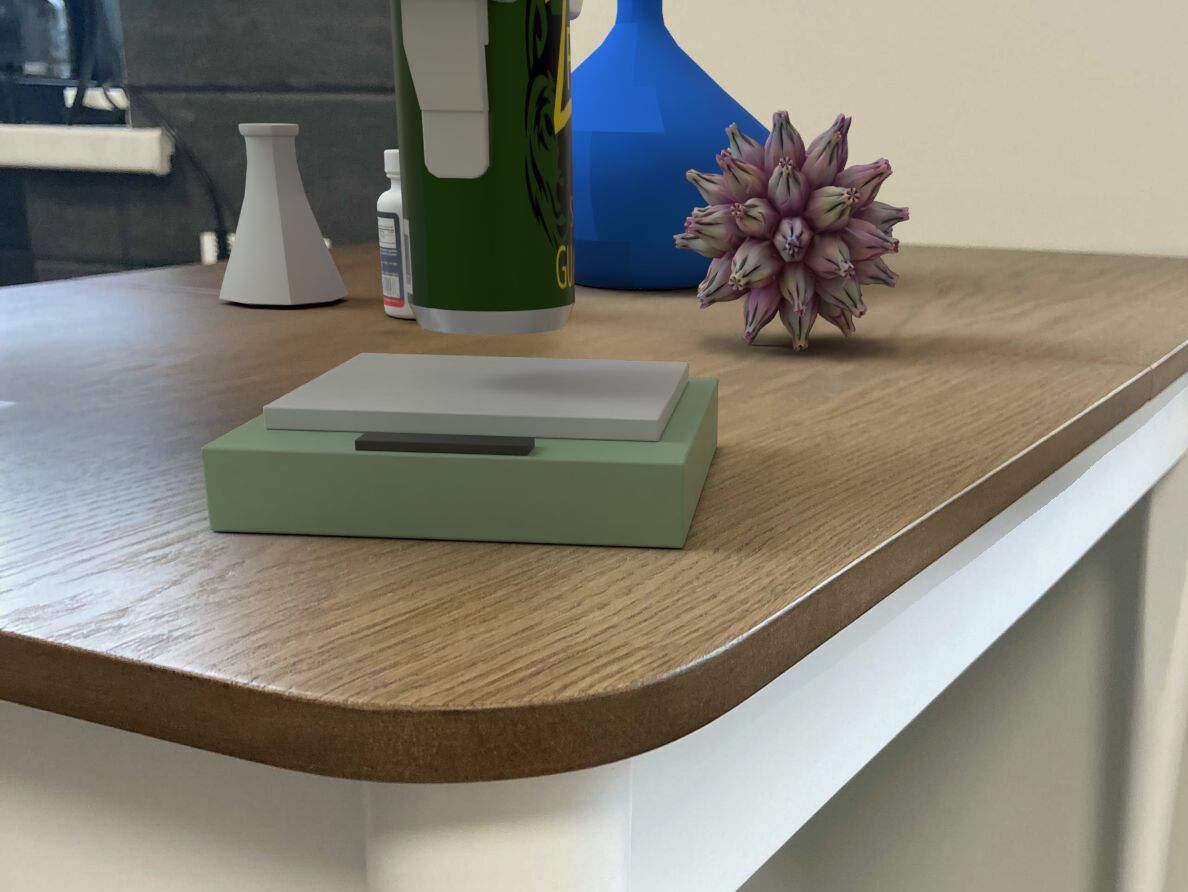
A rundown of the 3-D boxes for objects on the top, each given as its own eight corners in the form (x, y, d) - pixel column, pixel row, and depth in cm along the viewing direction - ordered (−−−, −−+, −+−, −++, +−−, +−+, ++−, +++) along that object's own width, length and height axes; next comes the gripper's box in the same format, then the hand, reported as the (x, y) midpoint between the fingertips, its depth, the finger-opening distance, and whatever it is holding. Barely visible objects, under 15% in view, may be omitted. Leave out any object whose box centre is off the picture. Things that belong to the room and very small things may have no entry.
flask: (197, 303, 90) (176, 123, 86) (277, 291, 96) (261, 122, 92) (293, 312, 88) (276, 126, 84) (370, 299, 94) (357, 124, 90)
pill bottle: (488, 310, 90) (481, 149, 86) (460, 322, 85) (451, 152, 81) (403, 307, 90) (393, 147, 87) (370, 318, 86) (358, 150, 82)
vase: (453, 277, 105) (439, -32, 97) (654, 262, 116) (655, -16, 109) (622, 305, 93) (620, -47, 85) (827, 285, 104) (842, -27, 96)
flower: (923, 374, 80) (822, 354, 70) (732, 343, 86) (613, 320, 76) (968, 145, 78) (869, 91, 67) (767, 128, 83) (649, 75, 73)
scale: (209, 531, 44) (196, 422, 43) (348, 433, 57) (342, 347, 56) (683, 549, 43) (684, 437, 42) (717, 445, 56) (719, 358, 55)
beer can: (418, 338, 46) (391, -112, 41) (401, 315, 51) (376, -92, 46) (591, 334, 47) (585, -102, 43) (559, 311, 52) (550, -84, 47)
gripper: (440, -279, 51) (460, 157, 57) (217, -492, 33) (278, 188, 38) (625, -279, 51) (626, 160, 57) (504, -495, 32) (525, 193, 38)
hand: (485, 172), depth 47 cm, fingers closed on beer can, 5 cm apart
